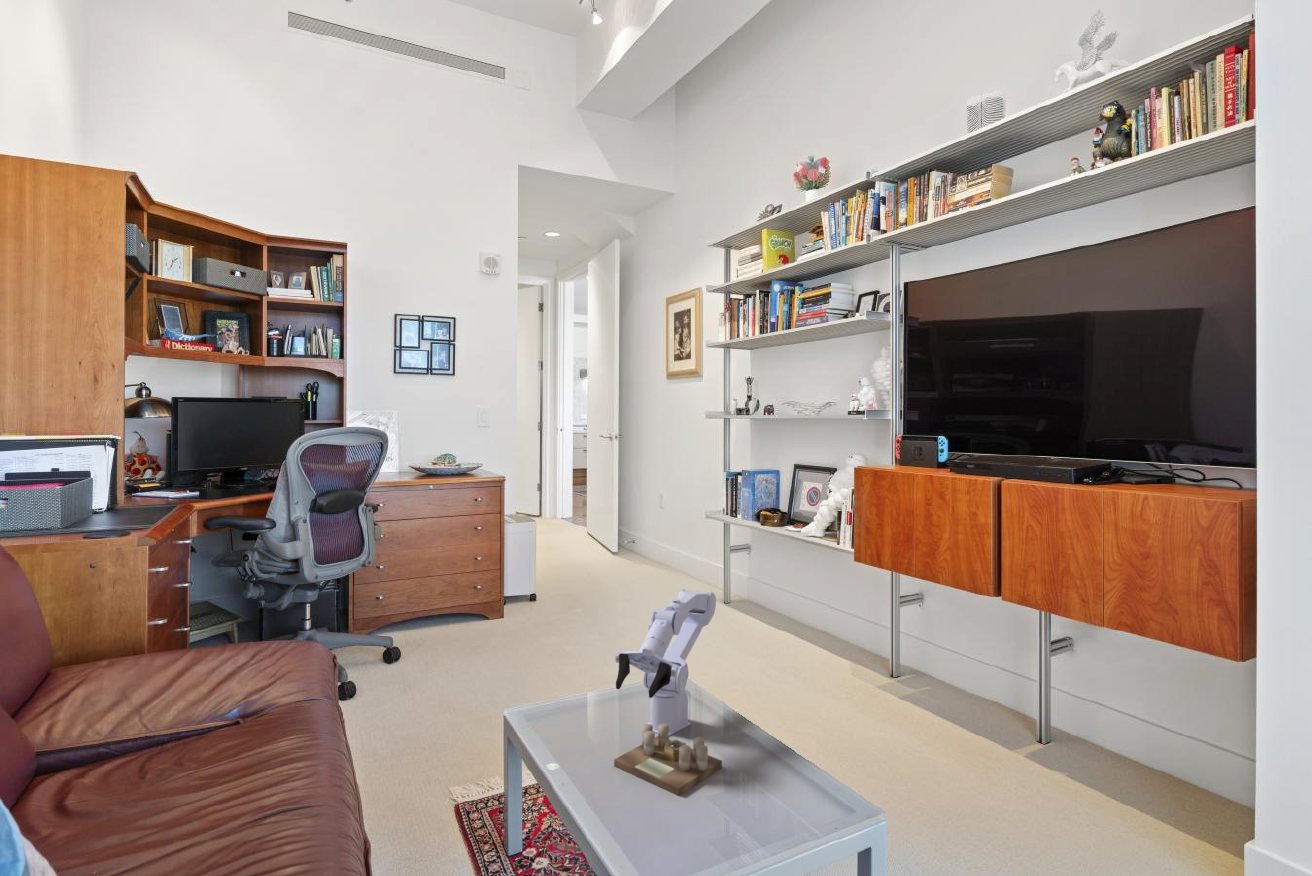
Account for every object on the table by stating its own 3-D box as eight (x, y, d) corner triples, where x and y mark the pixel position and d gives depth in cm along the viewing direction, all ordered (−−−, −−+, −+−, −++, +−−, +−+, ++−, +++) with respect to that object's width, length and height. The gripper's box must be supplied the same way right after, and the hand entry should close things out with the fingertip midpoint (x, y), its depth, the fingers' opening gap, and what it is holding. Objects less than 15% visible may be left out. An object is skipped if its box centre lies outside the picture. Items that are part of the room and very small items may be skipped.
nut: (672, 748, 157) (672, 737, 157) (690, 755, 154) (690, 744, 154) (659, 755, 154) (660, 744, 154) (677, 763, 151) (678, 752, 151)
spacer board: (658, 741, 164) (658, 716, 163) (721, 767, 152) (721, 740, 152) (614, 766, 152) (614, 739, 152) (678, 795, 141) (678, 766, 140)
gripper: (624, 627, 164) (602, 668, 153) (683, 641, 160) (665, 684, 148) (625, 650, 167) (603, 692, 156) (683, 664, 163) (665, 708, 151)
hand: (633, 690), depth 152 cm, fingers open, 7 cm apart
